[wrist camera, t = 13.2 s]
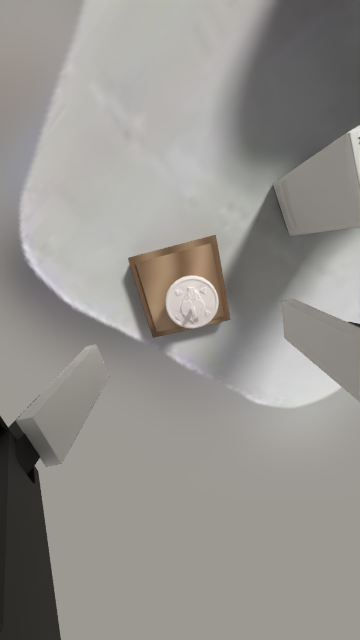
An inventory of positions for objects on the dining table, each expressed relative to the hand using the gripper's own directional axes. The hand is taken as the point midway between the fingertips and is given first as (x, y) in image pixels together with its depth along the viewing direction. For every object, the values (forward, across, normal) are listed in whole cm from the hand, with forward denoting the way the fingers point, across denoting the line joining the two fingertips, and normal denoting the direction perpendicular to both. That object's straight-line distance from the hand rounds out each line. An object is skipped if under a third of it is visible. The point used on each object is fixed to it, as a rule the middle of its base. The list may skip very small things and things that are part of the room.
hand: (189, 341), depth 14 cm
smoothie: (+20, +1, 0) cm, 20 cm away
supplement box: (+24, +22, +9) cm, 34 cm away
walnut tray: (+24, 0, 0) cm, 24 cm away
